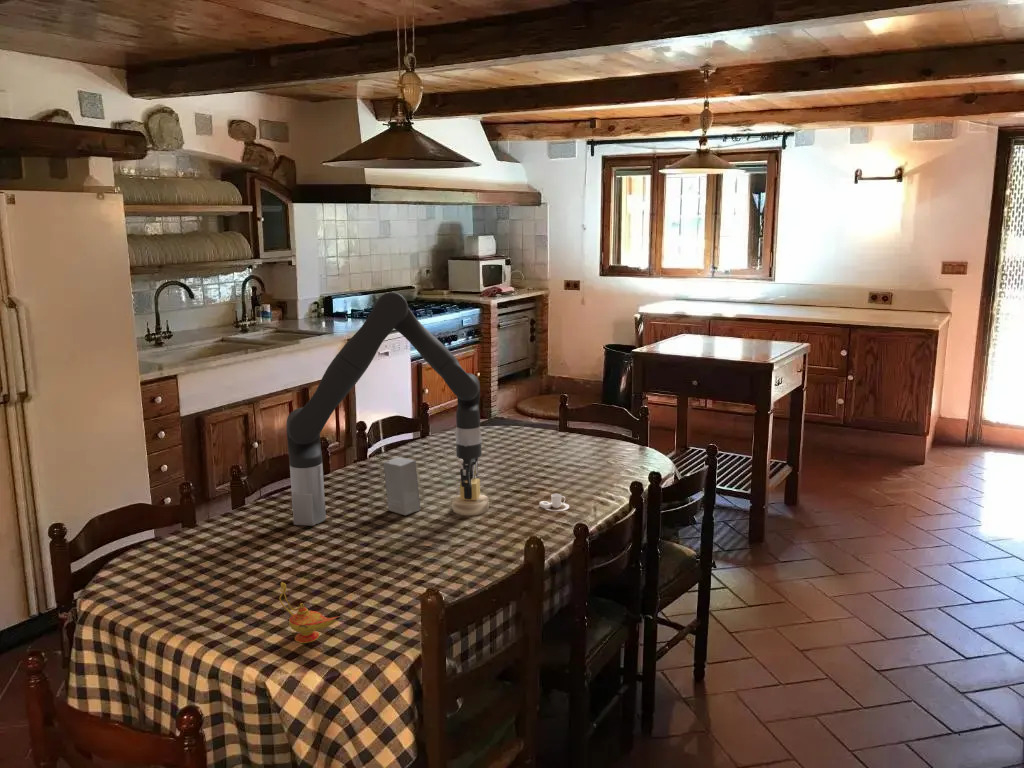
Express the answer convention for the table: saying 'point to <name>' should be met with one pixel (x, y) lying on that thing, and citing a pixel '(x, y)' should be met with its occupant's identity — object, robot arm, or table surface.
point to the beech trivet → (470, 505)
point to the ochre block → (474, 490)
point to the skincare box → (401, 485)
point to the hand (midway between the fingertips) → (470, 495)
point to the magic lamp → (307, 621)
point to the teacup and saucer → (554, 503)
